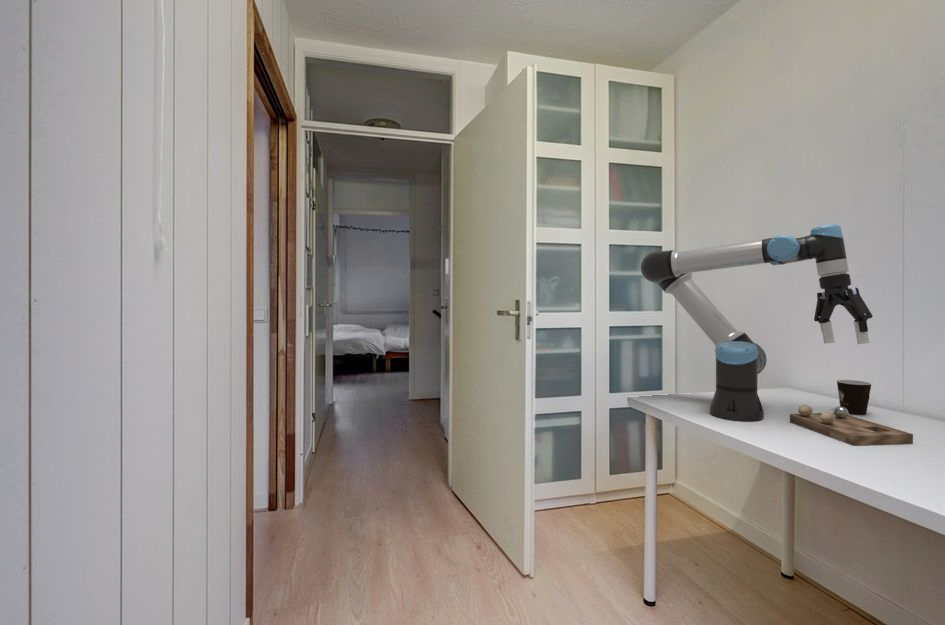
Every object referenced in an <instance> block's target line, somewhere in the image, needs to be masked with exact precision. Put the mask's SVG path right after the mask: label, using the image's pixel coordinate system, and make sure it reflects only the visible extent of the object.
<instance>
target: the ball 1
mask: <svg viewBox="0 0 945 625" xmlns="http://www.w3.org/2000/svg"><path fill="white" fill-rule="evenodd" d="M797 412H798V414H801V415H802V416H810V415H811V414H812V413H813V409H812V407H811V406H810V405H808V404H807V405H806V404H801V405H800V406H799V407H798V408H797Z"/></svg>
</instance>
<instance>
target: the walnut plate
mask: <svg viewBox="0 0 945 625" xmlns="http://www.w3.org/2000/svg"><path fill="white" fill-rule="evenodd" d="M822 413H823V412H812V414H811V415H810V416H802V415H801V414H800V413H789V423H792V424H793V425H796V424H797V425H796V426H800V427H802V428H805V429H807V428H808V429H807V430H810V431H813V432H816V433H819V434H820V435H823V436H826V437H829V438H831V439H835V440H837V441H839V442H840V441H841V442H842V443H845V444H849V445H851V446H883V445H884V446H885V445H889V446H890V445H909V444H911V445H913V444H914V434H913V433H911V432H906V431H904V430H900V429H897V428H894V427H889V426H887V425H883V424H880V423H876V422H873V421H870V420H867V419H863V418H860V417H856V416H854V415H851V414H849V415H848V416H847V417H846V418H838V417H837V416H835V414H834V412H831V413H832V414H834V416H835V421H834V422H833V423H832V424H826V423H824V422H822V421H821V419H820V415H821V414H822Z"/></svg>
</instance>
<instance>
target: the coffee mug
mask: <svg viewBox="0 0 945 625" xmlns="http://www.w3.org/2000/svg"><path fill="white" fill-rule="evenodd" d="M836 384H837V390H838V398H839V400H838V401H839V407H840V406H841V407H844V408H846V409H847V410H848V412H849V415H852V414H853V415H852V416H866V415H867V411H868V407H869V400H870V396H871V395H870V394H871V388H872V383H871V382H868V381H862V380H854V379H853V380H852V379H837V380H836Z"/></svg>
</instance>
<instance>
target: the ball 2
mask: <svg viewBox="0 0 945 625" xmlns="http://www.w3.org/2000/svg"><path fill="white" fill-rule="evenodd" d="M821 413H822V414H821V415H820V419H821V421H822V422H824V423H826V424H832V423H833V422H834V421H835V416H834V414H832V413H833V412H830V411H823V412H821Z"/></svg>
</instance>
